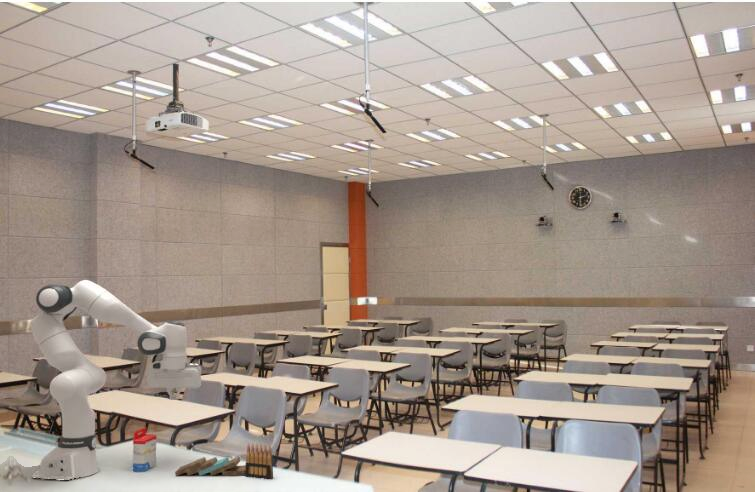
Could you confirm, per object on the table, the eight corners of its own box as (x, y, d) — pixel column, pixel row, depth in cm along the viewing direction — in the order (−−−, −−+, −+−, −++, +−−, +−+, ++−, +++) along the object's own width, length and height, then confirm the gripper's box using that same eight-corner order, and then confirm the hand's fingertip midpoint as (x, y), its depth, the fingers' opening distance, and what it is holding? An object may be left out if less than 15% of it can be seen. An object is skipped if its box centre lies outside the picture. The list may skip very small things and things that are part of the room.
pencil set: (245, 476, 230) (244, 443, 231) (247, 475, 232) (247, 442, 233) (270, 479, 227) (270, 446, 227) (273, 478, 228) (273, 444, 229)
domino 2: (186, 472, 231) (211, 461, 231) (191, 466, 237) (216, 456, 237) (188, 476, 231) (213, 465, 231) (193, 470, 237) (217, 460, 237)
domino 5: (222, 471, 231) (249, 470, 231) (226, 466, 237) (252, 464, 237) (222, 475, 231) (249, 474, 231) (226, 470, 237) (252, 469, 237)
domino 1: (174, 472, 232) (199, 461, 231) (180, 466, 238) (204, 456, 237) (176, 476, 232) (201, 465, 231) (181, 470, 238) (206, 460, 237)
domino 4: (209, 471, 231) (234, 461, 231) (214, 466, 237) (239, 456, 237) (211, 476, 231) (236, 465, 231) (216, 470, 237) (240, 460, 237)
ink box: (144, 472, 237) (144, 432, 237) (132, 471, 238) (132, 432, 238) (156, 465, 245) (156, 427, 246) (145, 464, 246) (145, 426, 247)
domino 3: (198, 471, 231) (223, 461, 231) (203, 466, 237) (227, 456, 237) (199, 476, 231) (224, 465, 231) (205, 470, 237) (229, 460, 237)
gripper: (203, 362, 247) (203, 398, 247) (151, 362, 248) (151, 397, 247) (199, 365, 241) (198, 401, 241) (145, 364, 241) (145, 400, 241)
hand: (174, 399), depth 244 cm, fingers closed
